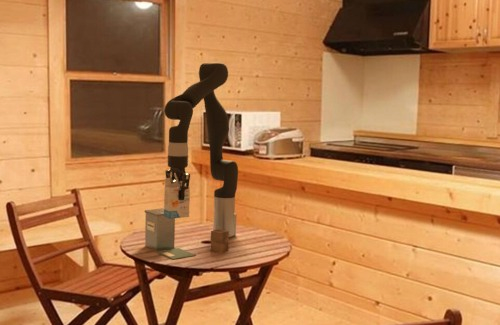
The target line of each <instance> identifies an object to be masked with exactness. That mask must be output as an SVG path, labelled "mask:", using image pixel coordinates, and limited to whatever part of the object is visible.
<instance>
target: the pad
mask: <svg viewBox="0 0 500 325" xmlns="http://www.w3.org/2000/svg"><path fill="white" fill-rule="evenodd" d="M155 252H156V253H157V254H159V255H160V256H161V255H162V256H163V257H165V258H168V259H171V260H179V259H185V258H191V257H192V258H193V257H196V254H195V253H193V252H192V253H191V252H190V251H187V250H185V249H182V248H179V247H178V248H177V247H176V248H175V247H174V249H168V250H162V251H155Z"/></svg>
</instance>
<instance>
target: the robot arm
mask: <svg viewBox="0 0 500 325" xmlns="http://www.w3.org/2000/svg"><path fill="white" fill-rule="evenodd" d="M198 77H199V81H197V82H195V83H193V84H191V85H190V86H189V87H187V88H186V89H185V90H184V91H183V92H182V93H181V94H179V95H176V96H175V97H173V98H171V99H170V100H169V101H167V103H166V104H165V106H164V114H165V117H166V118H167V119H169V120H175V121H176V120H177V121H179V122H178V124H177V125H175V126H171V127H169V130H168V145H167V146H168V147H167V167H169V168H170V169H166V170H165V179H166V178H170V179H171V180H170V183H171V184H173V183H176V184H177V185H178V188H179V195H178V199H179V200H184V198H185V190H186V189H188V188H189V187H190V180H191V174H190V173H187V172H186V168H188V166H189V141H188V140H189V139H188V136H189V135H188V134H189V130H190V125H191V122H192V118H193V114H194V108H195V107H197V106H198V105H199V104H200V102H202V100H203V104H204V110H205V119H206V129H207V134H208V144H209V158H210V159H209V162H210V163H209V165H210V166H209V168H210V175H211V177H212V179H214V180H215V181H220V182H223V184H222V186H221V187H219V188H216V189H215V190H214V192H213V194H214V195H213V222H212V226H213V227H212V231H214V230H217V229H221V230H226V231H229V238H231V237H234V236H237V213H235V212H236V211H235V210H236V209H235V208H236V192H237V189H238V181H239V180H238V177H239V168H238V164H237V162H236V161H234V160H229V159H228V160H227V159H224V157H223V147H224V144H225V142H226V139H227V138H228V136H229V135H228V134H229V132H230V124H229V123H230V122H229V117H228V112H227V111H226V110H225V108H224V106H223V105H222V104H221V102H220V101H219V99H218V98H217V96H216V94H215V90H217V89H218V88H219V87H221V86H223V85H224V84H225V83H226V82H227V81H228V78H229V71H228V67H227V65H226V64H225V63H223V62H206V63H202V64H200V66H199V70H198ZM172 180H173V181H172ZM180 181H182V182H180ZM181 184H182V186H181Z"/></svg>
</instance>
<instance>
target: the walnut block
mask: <svg viewBox="0 0 500 325" xmlns="http://www.w3.org/2000/svg"><path fill="white" fill-rule="evenodd" d="M229 238H230V237H229V231H226V230H221V229H217V230H214V231H213V230H212V231H210V252H213V253H217V254H223V253H226V252H228V251H229V244H230V243H229V242H230V240H229Z"/></svg>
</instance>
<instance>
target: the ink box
mask: <svg viewBox="0 0 500 325" xmlns="http://www.w3.org/2000/svg"><path fill="white" fill-rule="evenodd" d="M170 180H171V179H170V178H166V177H165V180H164V200H163V201H164V202H163V203H164V204H163V208H164V217H167V218H169V219H171V218H175V219H181V218H189V217H190V199H191V198H190V197H191V187H190V186H189V188H188V189H186V190H185V198H184V200H179V199H178V195H179V188H178V185H177V184H176V183H173V184H171V183H170ZM172 181H173V180H172ZM180 182H182V181H180ZM181 186H182V184H181Z"/></svg>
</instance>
